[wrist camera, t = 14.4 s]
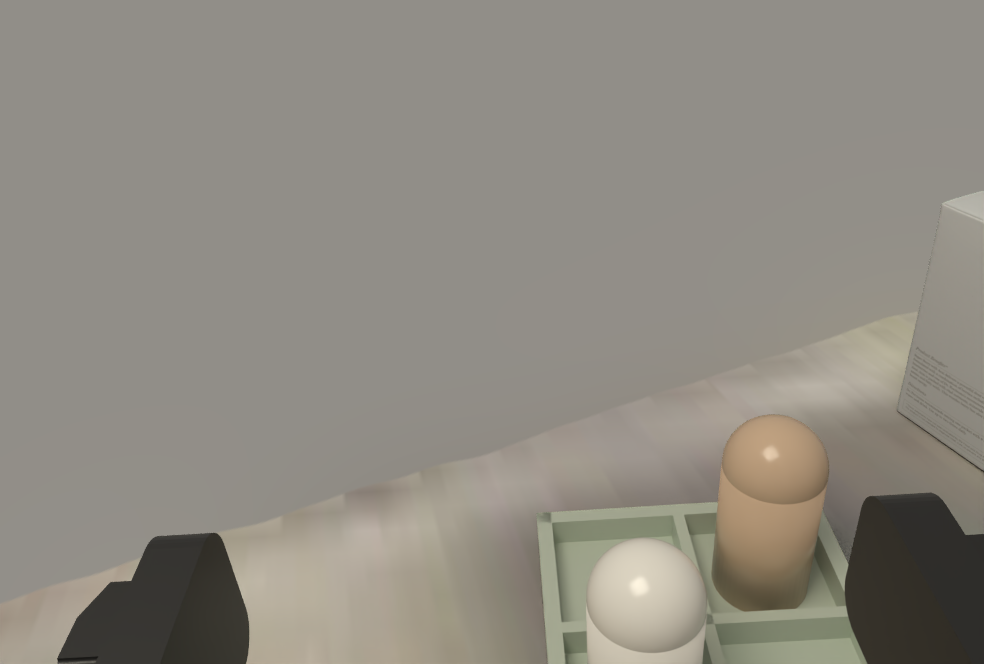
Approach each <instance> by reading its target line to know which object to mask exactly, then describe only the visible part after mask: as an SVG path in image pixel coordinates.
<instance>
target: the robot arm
mask: <svg viewBox="0 0 984 664" xmlns="http://www.w3.org/2000/svg"><path fill="white" fill-rule="evenodd" d="M845 602H846V609H847V614H848V618H849V621H850V625H851V628H852V630H853V633H854V635H855V637H856V640H857V642H858V644H859V646H860V649H861V651H862V653H863V655H864V658H865V660H866V662H867V664H984V534H978V535H965V534H964V532H963V531H962V529H961V527H960V526H959V524H958V523H957V521H956V520H955V518H954V517H953V515H952V514H951V512H950V511H949V509H948V507H947V506H946V504H945V503H944V502H943V500H942V499H941V498H940V497H939V496H937V495H936V494H934V493H918V494H901V495H884V496H869V497H867V498H866V499H865V501H864V503H863V505H862V508H861V512H860V517H859V521H858V525H857V530H856V534H855V538H854V543H853V547H852V552H851V556H850V560H849V565H848V569H847V573H846V578H845ZM248 648H249V621H248V615H247V610H246V607H245V604H244V601H243V598H242V595H241V592H240V590H239V587H238V584H237V581H236V578H235V575H234V572H233V569H232V566H231V563H230V560H229V557H228V555H227V552H226V549H225V546H224V543H223V541H222V539H221V537H220V536H219V535H218V534H217V533H205V534H191V535H190V534H189V535H172V536H157V537H155V538H153V539H152V540H151V541H150V542H149V544H148V545H147V547H146V549H145V551H144V554H143V556H142V558H141V560H140V563H139V565H138V567H137V569H136V572H135V574H134V576H133V578H132V581H123V582H110V583H109V584H108V585H107V586H106V588H105V589H104V590H103V591H102V592H101V593H100V594H99V595H98V596H97V597H96V598H95V599H94V600H93V601H92V602H91V604H90V605H89V606H88V607H87V608H86V609H85V610H84V611H83V612H82V613H81V614H80V615H79V616H78V617H77V619H76V621H75V623H74V625H73V627H72V629H71V631H70V633H69V635H68V637H67V640H66V642H65V644H64V646H63V648H62V650H61V652H60V654H59V656H58V658H57V659H58V664H246V661H247V656H248Z"/></svg>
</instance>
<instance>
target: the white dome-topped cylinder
mask: <svg viewBox="0 0 984 664" xmlns="http://www.w3.org/2000/svg"><path fill="white" fill-rule="evenodd" d="M707 609H708V602H707V592H706V587H705V584H704V581H703V578H702V576H701V574H700V572H699V570H698V568H697V567H696V566H695V564H694V563H693V561H692V560H691V559H690V558H689V557H688V556H687V555H686V554H685V553H684V552H682V551H681V550H680V549H679V548H677V547H676V546H674V545H672V544H670V543H667V542H665V541H662V540H659V539H655V538H647V537H640V538H633V539H628V540H625V541H622V542H620V543H618V544H616V545H614V546H613V547H611V548H610V549H608V550H607V551H606V552H605V553H604V554H603V555H602V556H601V557H600V558H599V559H598V561H597V562H596V564H595V565H594V567H593V569H592V571H591V573H590V576H589V580H588V583H587V590H586V621H587V664H702V661H703V650H704V640H705V630H706V619H707Z"/></svg>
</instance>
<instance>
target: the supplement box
mask: <svg viewBox="0 0 984 664" xmlns="http://www.w3.org/2000/svg"><path fill="white" fill-rule="evenodd" d="M897 411H898V412H900V413H901V414H902V415H904V416H905V417H907V418H908V419H910V420H911V421H913V422H914V423H915V424H917V425H918V426H920V427H921V428H923V429H924V430H925V431H927V432H928V433H930V434H931V435H933V436H934V437H936V438H937V439H938V440H940V441H941V442H943V443H944V444H946V445H947V446H948V447H950V448H951V449H953V450H954V451H956V452H957V453H958V454H960V455H961V456H963V457H964V458H966V459H967V460H969V461H970V462H971V463H973V464H974V465H976V466H977V467H979V468H980V469H981V470H983V471H984V191H980V192H976V193H973V194H969V195H966V196H962V197H958V198H955V199H952V200H949V201H946V202H944V203H943V204H941V211H940V216H939V221H938V226H937V230H936V235H935V240H934V245H933V249H932V254H931V258H930V263H929V267H928V271H927V277H926V281H925V285H924V290H923V294H922V299H921V303H920V308H919V312H918V317H917V321H916V326H915V330H914V335H913V339H912V344H911V348H910V353H909V357H908V362H907V366H906V371H905V375H904V380H903V385H902V389H901V393H900V397H899V402H898V406H897Z"/></svg>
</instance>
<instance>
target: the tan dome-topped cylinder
mask: <svg viewBox="0 0 984 664" xmlns="http://www.w3.org/2000/svg"><path fill="white" fill-rule="evenodd" d="M828 477H829V460H828V456H827V452H826V450H825V447H824V445H823V443H822V442H821V440H820V439H819V437H818V436H817V435H816V434H815V432H814V431H812V430H811V429H810V428H809V427H808V426H807V425H805V424H804V423H802V422H800V421H798V420H796V419H794V418H791V417H788V416H784V415H775V414H771V415H763V416H758V417H755V418H753V419H750V420H748V421H746V422H745V423H743V424H742V425H741V426H739V427H738V428H737V429H736V430H735V431H734V432H733V433H732V434H731V436H730V438H729V439H728V441H727V443H726V446H725V448H724V451H723V457H722V465H721V476H720V486H719V497H718V507H717V517H716V528H715V538H714V549H713V559H712V570H711V577H712V581H713V584H714V586H715V588H716V590H717V592H718V593H719V594H720V596H721V597H722V598H723V599H724V600H726V601H727V602H728V603H729V604H731V605H732V606H734V607H735V608H737V609H739V610H741V611H744V612H749V611H767V610H784V609H796V608H797V607H799V605H800V604H801V603H802V602H803V601H804V599H805V597H806V594H807V589H808V584H809V578H810V573H811V568H812V562H813V557H814V552H815V546H816V541H817V536H818V530H819V525H820V520H821V514H822V509H823V504H824V498H825V493H826V488H827V482H828Z"/></svg>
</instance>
